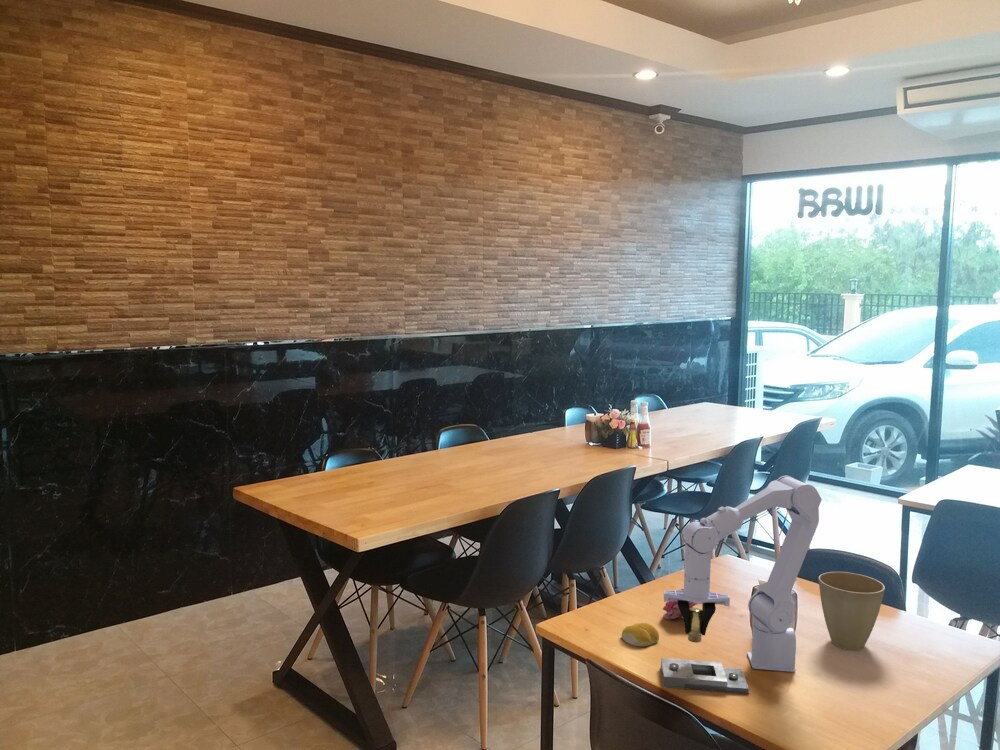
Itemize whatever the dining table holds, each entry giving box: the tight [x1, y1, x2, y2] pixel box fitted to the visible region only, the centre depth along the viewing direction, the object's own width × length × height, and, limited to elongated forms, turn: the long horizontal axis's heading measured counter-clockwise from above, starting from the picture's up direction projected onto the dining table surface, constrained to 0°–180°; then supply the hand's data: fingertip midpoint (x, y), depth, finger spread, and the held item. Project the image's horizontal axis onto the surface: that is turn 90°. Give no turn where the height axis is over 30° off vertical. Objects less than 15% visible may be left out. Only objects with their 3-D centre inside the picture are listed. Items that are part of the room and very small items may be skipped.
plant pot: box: [818, 571, 886, 651], centre depth 190 cm, size 15×15×16 cm
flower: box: [662, 588, 698, 620], centre depth 204 cm, size 11×10×10 cm
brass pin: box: [687, 607, 703, 644], centre depth 176 cm, size 3×3×7 cm
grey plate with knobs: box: [660, 657, 750, 695], centre depth 171 cm, size 18×9×3 cm, turn 82°
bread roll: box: [621, 622, 660, 647], centre depth 192 cm, size 8×9×4 cm
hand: (694, 632), depth 176 cm, fingers closed on brass pin, 3 cm apart
